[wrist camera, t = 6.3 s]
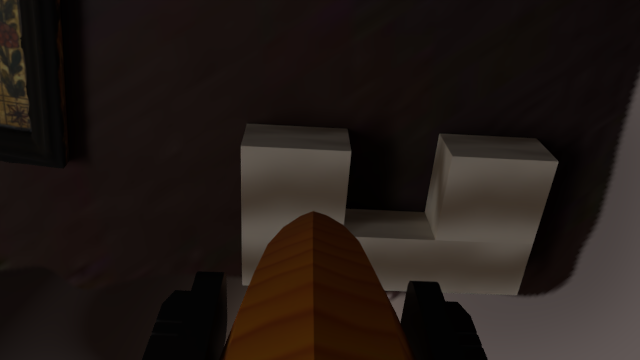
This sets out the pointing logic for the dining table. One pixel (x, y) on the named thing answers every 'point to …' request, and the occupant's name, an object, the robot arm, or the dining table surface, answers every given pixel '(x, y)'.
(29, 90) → the framed painting
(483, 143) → the notched board
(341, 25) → the dining table surface
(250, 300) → the carrot
